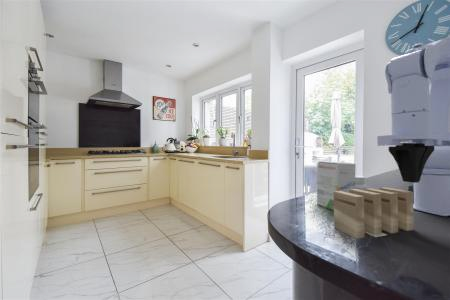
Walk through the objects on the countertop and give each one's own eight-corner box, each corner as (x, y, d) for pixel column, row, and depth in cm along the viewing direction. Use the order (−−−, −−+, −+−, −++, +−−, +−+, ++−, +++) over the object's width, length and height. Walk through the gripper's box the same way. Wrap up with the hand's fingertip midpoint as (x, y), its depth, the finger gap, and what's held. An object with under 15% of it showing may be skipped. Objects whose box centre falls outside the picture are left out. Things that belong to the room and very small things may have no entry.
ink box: (316, 203, 57) (315, 161, 57) (333, 202, 58) (332, 160, 58) (338, 213, 49) (337, 162, 49) (357, 211, 50) (356, 162, 50)
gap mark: (356, 223, 42) (356, 223, 42) (386, 235, 36) (386, 234, 36) (346, 225, 41) (346, 224, 41) (375, 237, 35) (375, 236, 35)
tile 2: (371, 223, 42) (371, 188, 42) (398, 232, 37) (397, 193, 37) (365, 223, 41) (364, 188, 42) (391, 233, 37) (390, 193, 37)
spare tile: (356, 224, 41) (356, 188, 41) (381, 234, 36) (381, 193, 36) (350, 225, 40) (349, 189, 41) (374, 235, 36) (373, 194, 36)
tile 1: (386, 221, 43) (385, 187, 43) (413, 229, 38) (413, 191, 38) (380, 221, 42) (379, 187, 43) (407, 230, 38) (406, 192, 38)
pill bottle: (371, 208, 52) (370, 177, 52) (351, 207, 53) (351, 177, 53) (363, 203, 56) (362, 175, 56) (345, 203, 57) (345, 175, 57)
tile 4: (341, 227, 40) (340, 190, 40) (364, 237, 35) (364, 196, 35) (334, 228, 40) (333, 191, 40) (357, 238, 35) (356, 196, 35)
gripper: (413, 118, 47) (414, 177, 47) (362, 116, 43) (364, 180, 43) (454, 112, 40) (455, 182, 40) (398, 109, 37) (400, 186, 37)
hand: (410, 181), depth 41 cm, fingers closed
